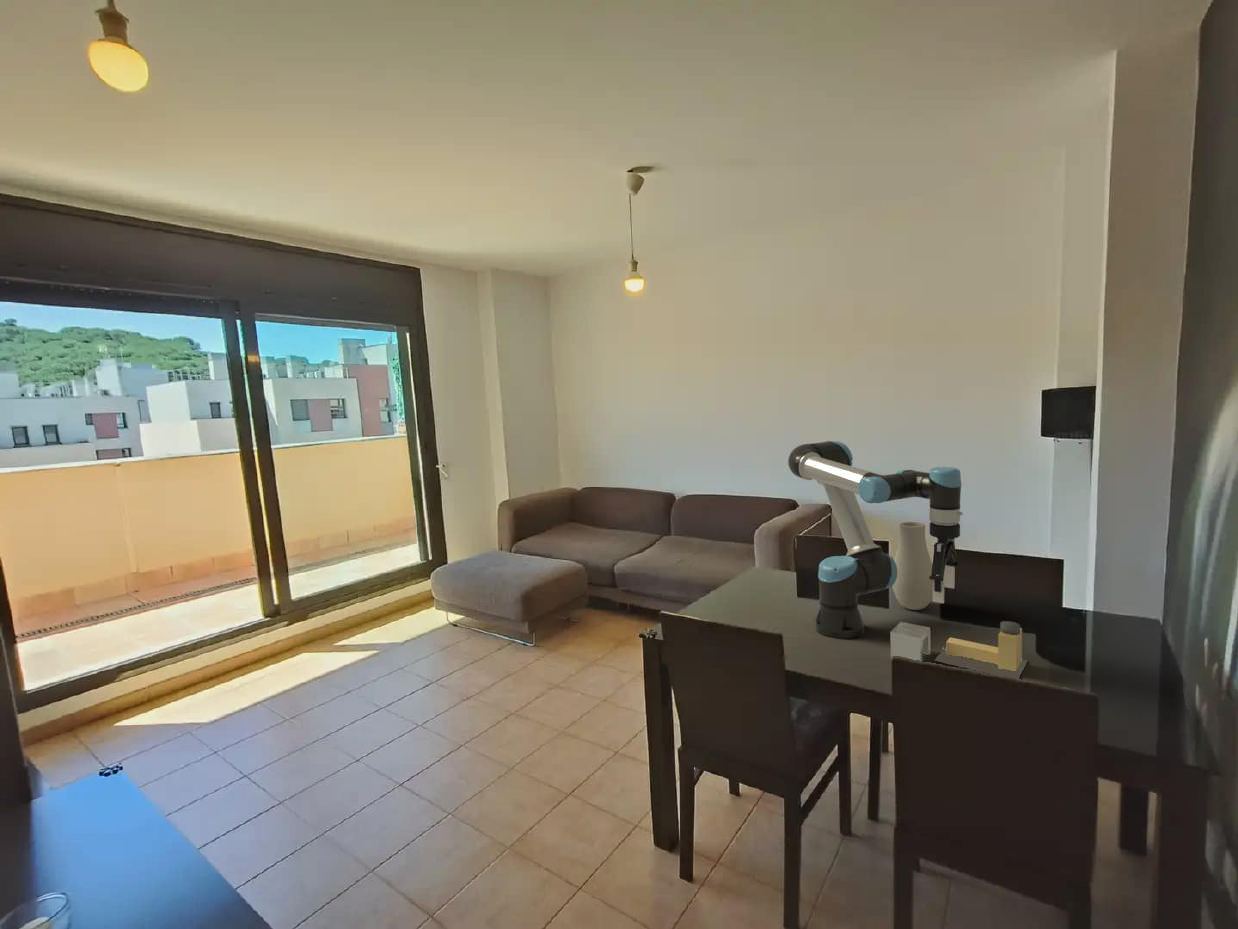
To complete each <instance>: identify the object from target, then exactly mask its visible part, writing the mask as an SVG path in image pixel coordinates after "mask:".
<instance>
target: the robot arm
mask: <svg viewBox="0 0 1238 929" xmlns="http://www.w3.org/2000/svg"><path fill="white" fill-rule="evenodd" d="M853 459H854V458H853V454H852V452H851V450H850V448H849V447H848V446H847V445H846V444H845V443H843V442H841V441H837V440H836V441H835V440H834V441H833V440H826V441H822V442H813V443H803V444H801V445H798V446H796V447H795V448H793V449H792V451H790V453H789V456H788V460H787V463H788V464H787V465H788V467H789V470H790V472H791V473H792V474H794V476H796V477H798V478H800V479H803V480H806V481H813V480H816V481H817V483H818V485H821V486H823V488H824V490H825V493H826V496H827V498H828V501H829V504H830V505H831V508H832V510H833V514H834V517H835V519H836V522H837V525H838V527H839V530H840V533H841V535H842V538H843V541H844V543H845V546H846V549H847V552H846V554H845V555H839V556H838V555H835V556H834V555H833V556H829V557H826V558H824V559H823V560H822V561H820V563H819V565H818V574H817V577H818V587H819V588H818V589H819V592H818V593H819V606H818V610H817V613H816V616H815V620H814V629H815V631H816V632H818V633H819V634H820V635H823V636H826V637H829V638H835V639H853V638H857V637H861V636H862V635H863V634H864V632H865V623H864V620H863V618H862V616H861V613H860V609H859V605H858V602H859V601H858V600H859V599H858V596H862V595H866V594H871V593H876V592H881V591H882V592H883V591H884V590H887V589H890V588H892V586H893V584H894V583H895V581H896V578H897V566H896V563H895V561H894V558H893V557H892V556H891V555H889V554H888V553H885V552H883V550H882V547H881V545H878V544H875V543H874V540H873V538H872V534H871V533H870V532H871V531H870V530H869V527H868V525H867V522H866V518H865V517H864V515H863V511H862V509H861V507H860V505H859V501H858V499H857V496H856V495H859V496H860V498H861V499H862V500H863V501H864V502H865V503H868V504H881V503H885V502H891V501H897V500H902V499H903V500H904V499H909V498H910V499H911V498H921V499H926V500H929V521H930V523H929V535H930V536H931V537H933V538H936V539H937V542H935V543H934V544H933V557H932V573H931V576H930V577H929V579H931V580H933V596H932V602H934V603H939V604H944V603H945V588H948V589H955V586H956V585H955V581H956V580H955V579H956V578H955V577H956V576H955V574H956V572H955V570H956V567H958V565H959V562H957V553H956V545H955V544H956V543H955V539H958V538H959V537H960V536H961V524H960V521H961V516H963V514H964V513H963V512H962V511H961V494H962V493H961V492H962V478H961V477H962V476H961V471H960V469H958V468H957V467H952V466H951V467H950V466H947V467H946V466H936V467H932V468H931V469H930V471H929V472H926V471H925V472H924V471H919V470H918V471H917V470H914V469H901V470H898V471H897V472H896V473H891V474H879V473H875V472H873V471H869V470H864V469H862V468H858V467H856V466H853V461H854V460H853Z"/></svg>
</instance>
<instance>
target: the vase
mask: <svg viewBox="0 0 1238 929" xmlns="http://www.w3.org/2000/svg"><path fill="white" fill-rule="evenodd" d="M898 527H899V539H898V540H899V541H898V546H897V550H896V553H895V557H894V558H893V560H894V561H895V563H896V566H897V578H896V581H895V583H894V584H893V586H891V588H892V591H893V593H894V596H895V598H896V599H897V602H898V603H899V604H900V605H901V606H902V607H904V608H905V609H906V610H907V609H908V610H912V611H913V610H914V611H920V610H923V609H925V608H926V607H927V606H928V605H929V604H930V603H931V600H933V580H931V579H929V577H930V576H931V573H932V564H933V561H932V558H931V557H930V554H929V549H928V546H927V541H926V540H927V539H926V523H923V522H918V521H902V522H900V523H899V525H898Z"/></svg>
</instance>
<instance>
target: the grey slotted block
mask: <svg viewBox="0 0 1238 929" xmlns="http://www.w3.org/2000/svg"><path fill="white" fill-rule="evenodd" d="M889 632H890V635H889V636H890V638H889V640H890V658H891V657H892V656H901V657H906V658H909V659H913V660H920V661H923V662H924V657H923V656H924V655H923V654H927V655H929V654H930V655H931V627H930V626H929V627H928V626H924V625H919V624H914V623H909V622H905V621H900V622H899V623H898V624H897V625H896V626H894V627H893V628H892V630H890V631H889ZM930 655H929V656H930Z"/></svg>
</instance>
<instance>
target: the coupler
mask: <svg viewBox="0 0 1238 929" xmlns="http://www.w3.org/2000/svg"><path fill="white" fill-rule="evenodd" d="M999 626H1000V631H999V633H998V634H997V641H998V642H997V646H994V645H988V644H984V643H979V642H974V641H970V640H965V639H960V638H955V637H951V636H950V637H949V638H947V640H946V642H945V643H946V644H945V645H946V655H952V656H963V657H967V658H973V659H975V660H980V661H983V662H990V663H994V664H997V665H998V668H999V669H1007V670H1011V671H1016V670H1017V669H1018V667H1019V665H1020V663H1021V662H1022V659H1023V628H1022V627H1021V624H1019V623H1017V622H1015V621H1009V620H1006V621H1005V620H1004V621H1003V620H1002V621H1000V623H999Z"/></svg>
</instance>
